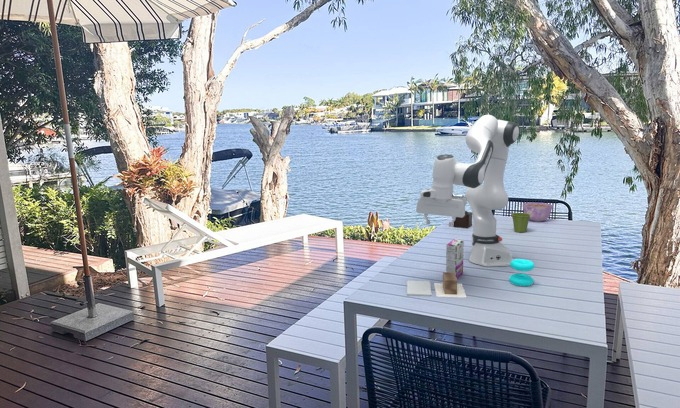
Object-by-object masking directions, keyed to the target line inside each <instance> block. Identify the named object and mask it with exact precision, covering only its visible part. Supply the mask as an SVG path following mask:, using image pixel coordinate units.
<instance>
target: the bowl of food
mask: <svg viewBox="0 0 680 408" xmlns="http://www.w3.org/2000/svg"><path fill="white" fill-rule="evenodd" d="M553 207H554V205H553V204H550V203H545V202H534V201H533V202H531V201H530V202H524V203H522V209H523V213H526V214H530V215H531V216H530V218H529V221H531V222H537V223H540V222H544V221H546V220H548V218H549V217H550V216H551V212H552V209H553Z"/></svg>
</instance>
